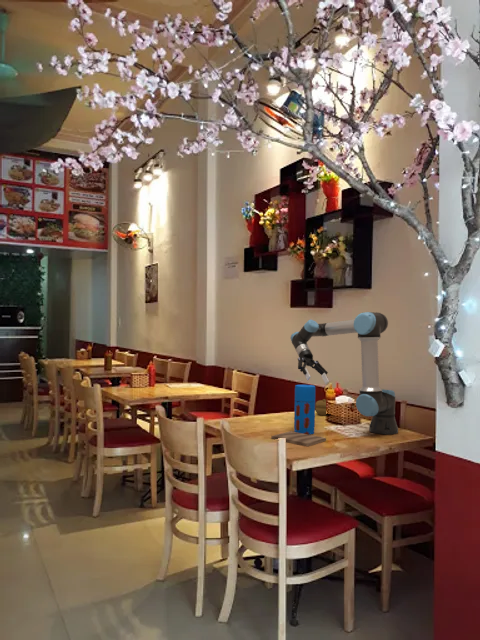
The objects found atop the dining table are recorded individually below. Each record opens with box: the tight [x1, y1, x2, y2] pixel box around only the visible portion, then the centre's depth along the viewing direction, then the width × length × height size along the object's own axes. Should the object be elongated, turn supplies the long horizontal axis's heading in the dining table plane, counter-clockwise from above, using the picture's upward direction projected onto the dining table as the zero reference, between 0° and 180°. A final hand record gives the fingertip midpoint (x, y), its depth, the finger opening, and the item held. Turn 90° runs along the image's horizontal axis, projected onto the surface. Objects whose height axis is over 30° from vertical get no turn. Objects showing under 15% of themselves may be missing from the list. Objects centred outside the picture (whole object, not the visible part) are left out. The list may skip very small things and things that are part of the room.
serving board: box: [271, 430, 327, 447], centre depth 261 cm, size 22×16×2 cm
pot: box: [315, 398, 327, 416], centre depth 330 cm, size 12×12×10 cm
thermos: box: [293, 384, 316, 435], centre depth 278 cm, size 11×11×25 cm
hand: (318, 380), depth 284 cm, fingers open, 13 cm apart
